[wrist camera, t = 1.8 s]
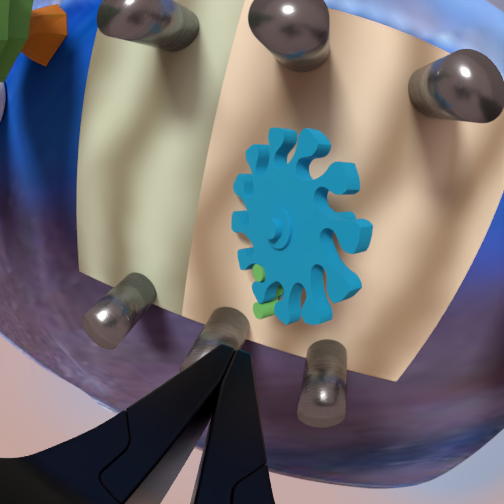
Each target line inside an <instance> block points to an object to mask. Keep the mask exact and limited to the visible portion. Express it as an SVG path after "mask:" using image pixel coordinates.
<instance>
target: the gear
mask: <svg viewBox="0 0 504 504" xmlns="http://www.w3.org/2000/svg"><path fill="white" fill-rule="evenodd" d="M268 141H269V145H264V144H253V145H252V146H250V147H249V148H248V149H247V150H246V160H247V162H248V164H249V166H250V168H251V171H252V174H238V176H237V177H236V179H235V182H234V185H233V190H234V192H235V194H236V195H237V196H239V197H240V198H241V199H242V200H243V202H244V204H245V206H246V208H247V211H246V210H244V211H234V212H233V214H232V221H231V229H232V230H233V232H235V233H238V232H241V233H244V234H245V235H246V236H247V237H248V238H249V239H250V241H251V242H252V244H253V247H251V248H244V249H239V250H238V251H237V253H238V261H239V266H240V269H241V270H248V269H253V276H254V278H255V280H256V281H255V282H253V284H252V290H253V293H254V295H255V297H256V299H257V301H258V302H255V303H254V304H253V312H254V315H255V317H256V318H257V319H263V318H266V317H270V316H273V315H276V316H277V318H278V319H279V320H280V321H282V322H283V323H284V324H286V325H288V324H291V323H294V322H297V321H299V320H300V318H301V314H302V318H303V321H304V322H305V323H307V324H310V325H317V324H321V323H324V322H327V321H329V320H332V317H333V312H332V308H331V305H330V303H329V302H328V299H327V297H326V293H325V290H324V281H323V270H324V269H325V272H326V275H327V293H328V296H329V298H330V300H331V301H332V302H333V303H334V304H335V303H338V302H341V301H343V300H346V299H349V298H351V297H353V296H354V295H355V294H356V293H357V292H358V291H359V290H360V289H361V288H362V283H361V280H360V278H359V277H358V275H357V274H356V273H354V272H353V271H351V270H350V269H349V268H348V267H347V266H346V265H345V264H344V263H343V261H342V260H341V258H340V257H339V254H338V252H337V250H336V247H335V245H334V242H333V232H335V234H336V237H337V239H338V242H339V244H340V246H341V248H342V249H343V250H344V251H345V252H346V253H349V254H356V253H360V252H364V251H367V249H368V247H369V245H370V242H371V238H372V232H373V225H372V223H371V222H370V221H368V220H366V219H356V216H355V214H354V213H353V212H351V211H348V212H335V211H334V210H333V209H331V207H330V206H329V204H328V201H327V195H328V191H331V192H332V193H334V194H336V195H353V194H356V193H357V192H359V191H360V179H359V175H358V171H357V168H356V166H355V163H349V162H334V163H332V164H331V165H330V166H329V167H328V169H327V170H326V171H325V173H324V174H323V175H321V176H320V177H318V178H316V179H314V180H313V179H312V177H311V176H310V173H309V166H310V163H311V162H312V160H314V159H316V158H323V157H325V156H327V155H328V153H329V152H330V149H331V146H332V145H331V143H330V141H329V140H328V138H327V137H326V136H325V135H324V134H323V133H322V132H321V131H319V130H316V129H310V128H304V129H303V130H302V131H301V132H300V134H299V137H298V143H297V147H296V151H295V153H294V156H293V157H292V159H291V161H290V162H289V163H288V164H287V157H288V154H289V152H290V151H291V150H292V149H293V148H294V146H295V145H296V142H297V132H296V131H295V130H292V129H285V128H276V127H273V128H270V130H269V133H268ZM303 288H305V291H306V300H305V302H304V304H303V306H302V310H301V294H302V290H303ZM278 300H281V301H278Z"/></svg>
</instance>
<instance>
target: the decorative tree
mask: <svg viewBox="0 0 504 504" xmlns="http://www.w3.org/2000/svg"><path fill="white" fill-rule="evenodd" d="M32 5H33V0H0V82H5V80H6V77H7V75H8V74H9V72H10V70H11V68H12V66H13V64H14V62H15V60H16V58H17V57H18V55H19V53H20V52H22V53H23V54H24V55H26V56H27V57H28V58H30V59H31V60H32V61H35V62H37V63H39V64H41V65H44V66H47V64H48V62H49V61H50V59H51V58H52V56H53V55H54V53H55V52H56V50H57V49H58V48H59V46H60V45H61V43H62V42H63V40H64V39H65V38H66V36H67V14H66V13H65V12H64V11H63V10H62V9H61V8H60V7H59V6H58V5H57V4H56V5H51V6H47V7H43V8H39V9H35V10H32Z"/></svg>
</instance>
